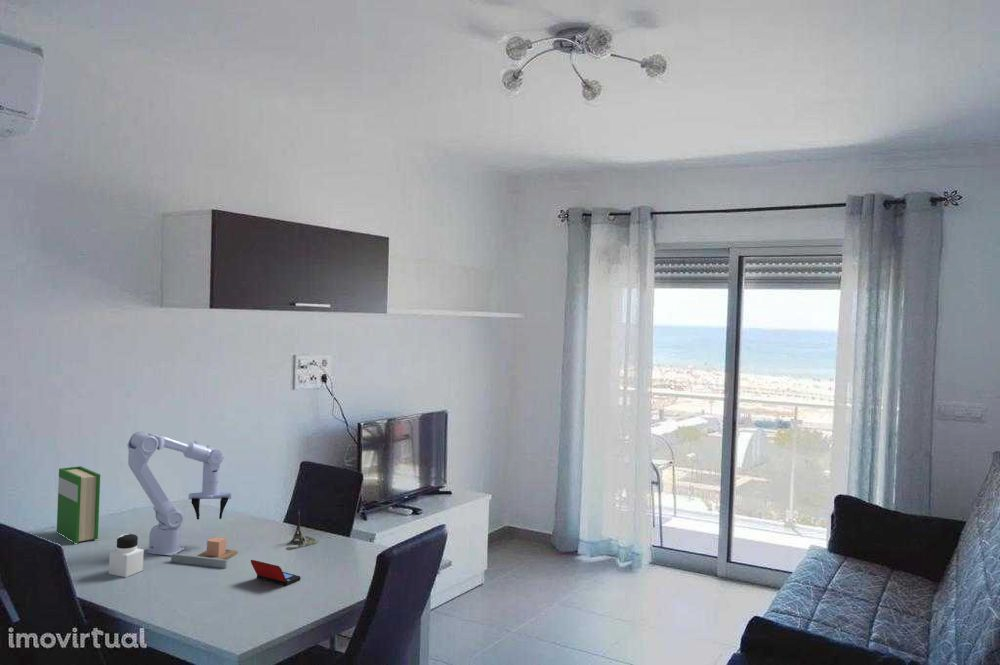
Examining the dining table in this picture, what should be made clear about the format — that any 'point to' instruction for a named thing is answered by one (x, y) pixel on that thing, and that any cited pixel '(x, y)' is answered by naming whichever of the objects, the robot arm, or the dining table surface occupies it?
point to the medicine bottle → (126, 557)
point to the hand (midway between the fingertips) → (209, 518)
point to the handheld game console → (273, 573)
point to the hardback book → (78, 503)
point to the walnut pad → (224, 556)
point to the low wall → (199, 560)
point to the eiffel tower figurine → (300, 538)
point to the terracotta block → (216, 546)
